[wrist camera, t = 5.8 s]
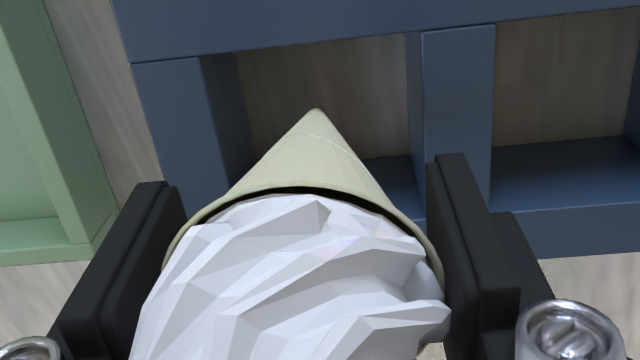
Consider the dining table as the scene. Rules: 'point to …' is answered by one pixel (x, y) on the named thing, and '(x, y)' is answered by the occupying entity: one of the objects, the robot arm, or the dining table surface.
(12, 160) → the shallow green box
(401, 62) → the dining table surface
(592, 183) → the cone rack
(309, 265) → the ice cream cone
